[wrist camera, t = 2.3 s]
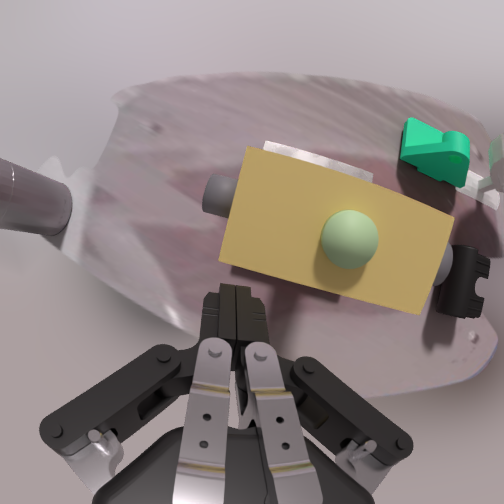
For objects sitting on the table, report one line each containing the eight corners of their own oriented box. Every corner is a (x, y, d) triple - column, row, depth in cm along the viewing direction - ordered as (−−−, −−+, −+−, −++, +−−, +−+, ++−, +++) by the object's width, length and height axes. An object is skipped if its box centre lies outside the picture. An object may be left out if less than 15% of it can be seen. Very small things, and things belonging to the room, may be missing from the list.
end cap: (438, 245, 37) (464, 243, 30) (468, 256, 36) (494, 255, 30) (426, 309, 36) (451, 316, 30) (456, 315, 36) (481, 322, 29)
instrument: (238, 213, 33) (177, 253, 14) (250, 164, 32) (204, 135, 12) (365, 250, 32) (448, 326, 13) (380, 203, 31) (484, 231, 12)
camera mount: (458, 151, 36) (491, 129, 26) (456, 190, 36) (493, 173, 26) (402, 122, 37) (428, 90, 27) (397, 161, 37) (427, 134, 27)
